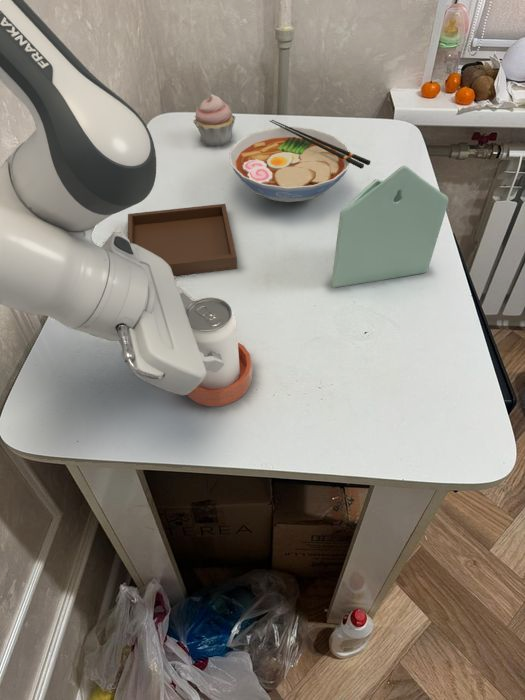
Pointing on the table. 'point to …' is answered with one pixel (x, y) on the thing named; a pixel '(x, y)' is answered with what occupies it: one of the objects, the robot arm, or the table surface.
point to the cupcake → (214, 121)
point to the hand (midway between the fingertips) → (209, 336)
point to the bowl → (227, 393)
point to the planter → (388, 230)
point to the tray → (186, 238)
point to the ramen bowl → (291, 162)
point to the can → (216, 339)
